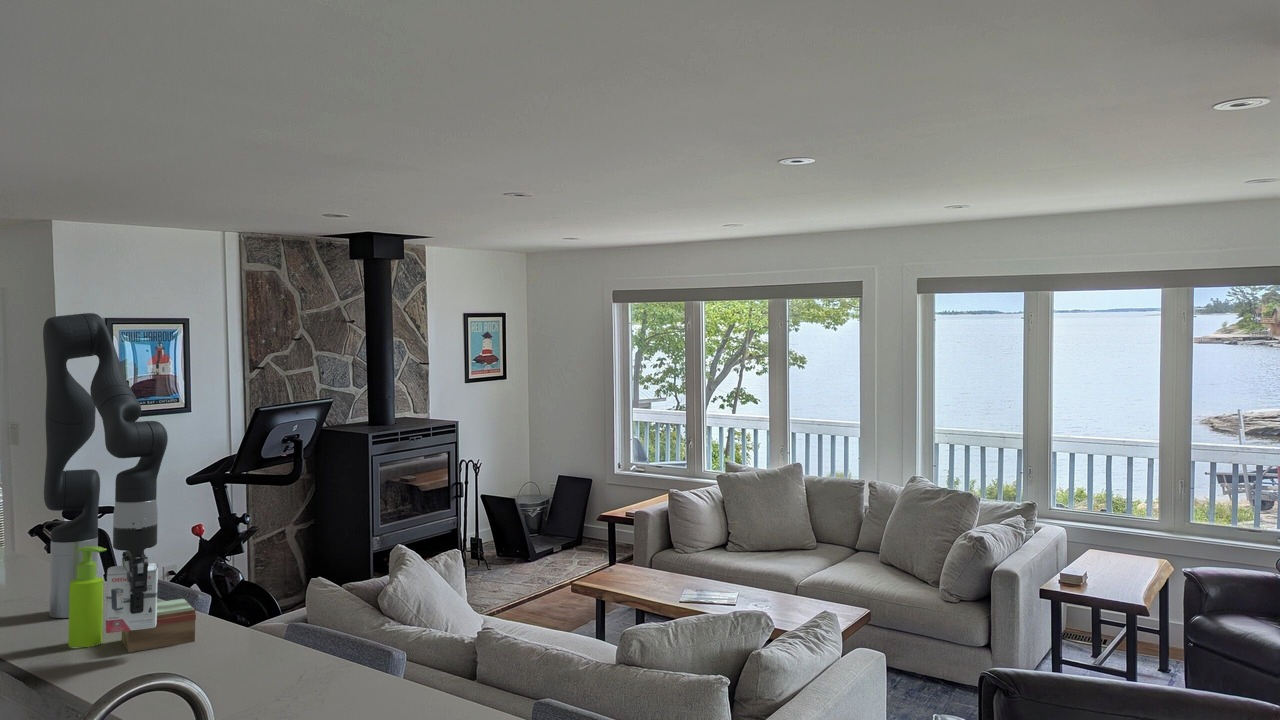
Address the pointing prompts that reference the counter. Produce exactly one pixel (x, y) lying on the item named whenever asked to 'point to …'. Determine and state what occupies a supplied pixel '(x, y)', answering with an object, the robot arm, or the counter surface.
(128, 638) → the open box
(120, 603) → the ink box
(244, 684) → the counter surface
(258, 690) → the counter surface
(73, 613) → the soap dispenser
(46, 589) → the counter surface
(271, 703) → the counter surface
